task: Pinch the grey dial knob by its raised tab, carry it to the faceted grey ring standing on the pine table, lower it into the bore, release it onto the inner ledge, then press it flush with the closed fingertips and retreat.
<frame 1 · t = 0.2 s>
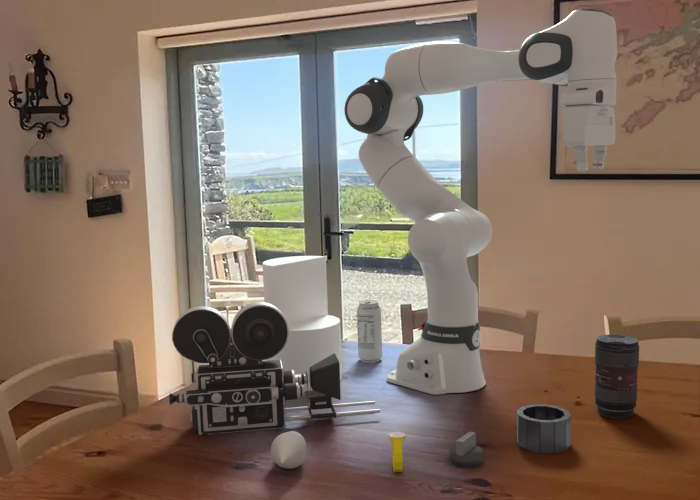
hand: (590, 170, 143), 48 cm above the table, fingers open, 8 cm apart
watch: (397, 470, 124), on the table
energy drink can: (370, 361, 189), on the table
camera lens: (615, 413, 147), on the table
grey dial knob: (466, 461, 126), on the table
faceted grey ring: (543, 443, 133), on the table
film camera: (278, 425, 146), on the table
cylinder: (305, 380, 174), on the table
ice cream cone: (289, 471, 125), on the table
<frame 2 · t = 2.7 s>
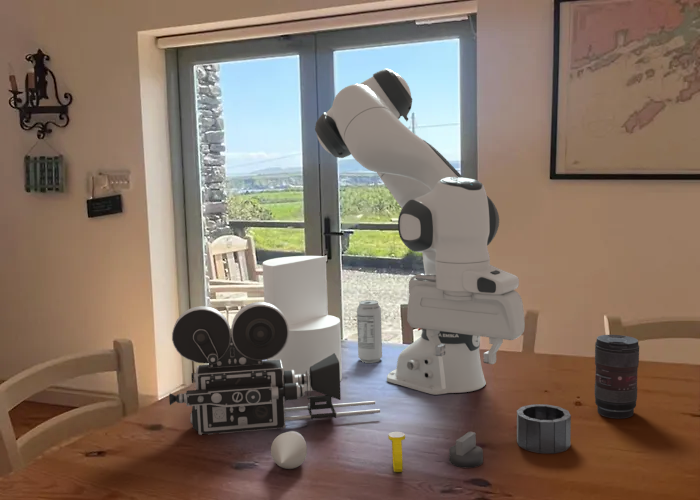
hand: (464, 359, 124), 18 cm above the table, fingers open, 8 cm apart
nothing on the table moved.
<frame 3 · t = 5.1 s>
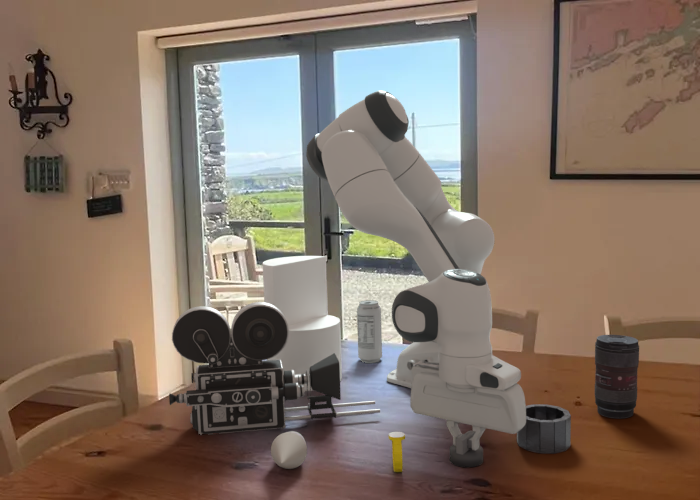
hand: (466, 447, 126), 2 cm above the table, fingers closed on grey dial knob
grey dial knob: (466, 460, 126), on the table, touching gripper
everything else where it was.
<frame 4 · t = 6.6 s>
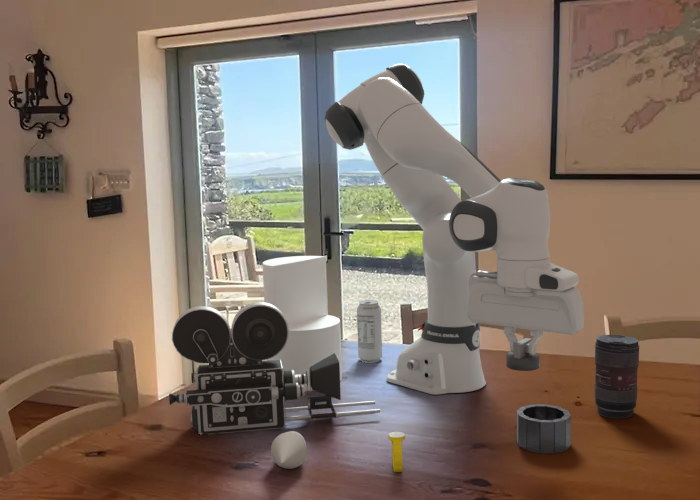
hand: (523, 353, 129), 17 cm above the table, fingers closed on grey dial knob
grey dial knob: (522, 366, 129), point 15 cm above the table, touching gripper
everything else where it was.
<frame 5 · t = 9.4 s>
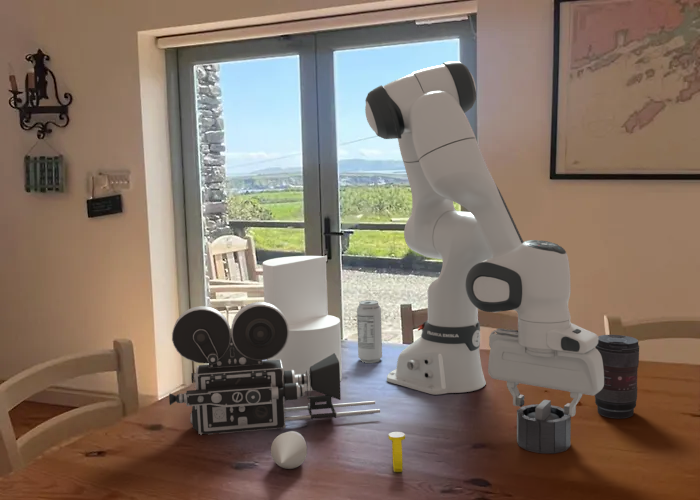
hand: (543, 410, 132), 6 cm above the table, fingers open, 8 cm apart
grey dial knob: (542, 428, 132), point 3 cm above the table, touching faceted grey ring
everything else where it was.
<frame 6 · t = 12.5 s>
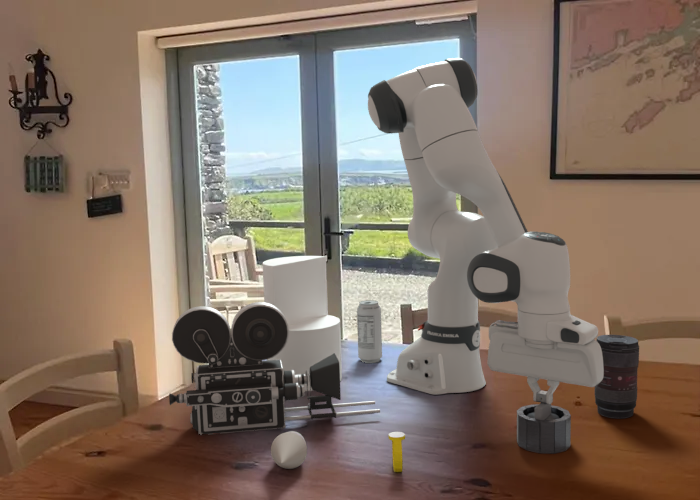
hand: (543, 402, 132), 8 cm above the table, fingers closed
nothing on the table moved.
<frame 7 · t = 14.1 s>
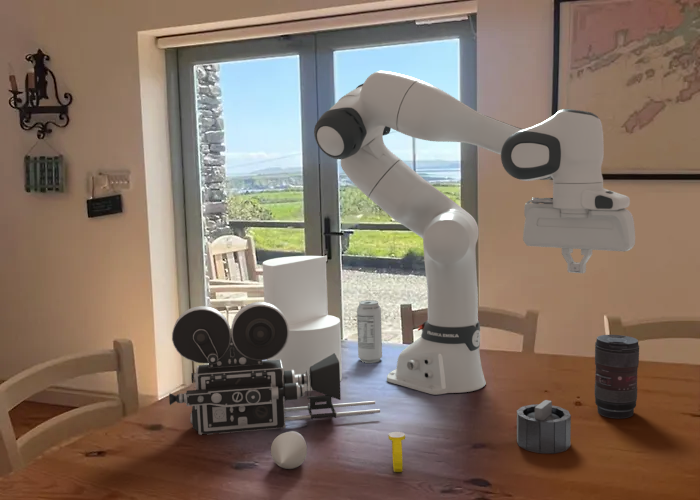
hand: (576, 272, 139), 29 cm above the table, fingers closed
nothing on the table moved.
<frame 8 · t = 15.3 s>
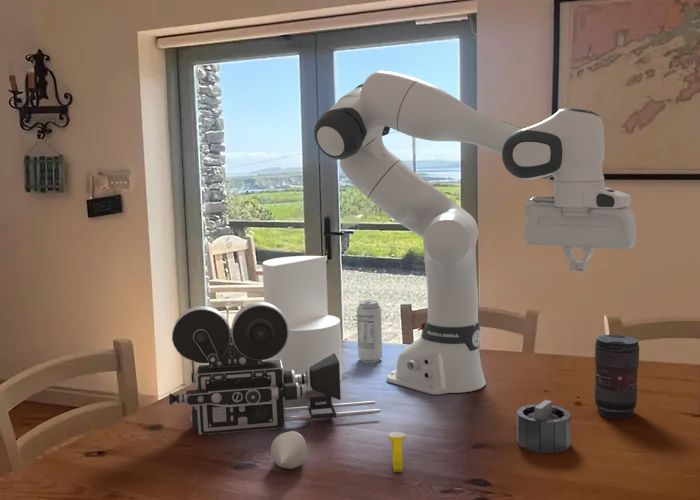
hand: (578, 270, 139), 29 cm above the table, fingers closed
nothing on the table moved.
at the end: grey dial knob 0.6 cm off-centre on the faceted grey ring, point 3.0 cm above the faceted grey ring's base; grey dial knob tilted 1°; the gripper is holding nothing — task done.
